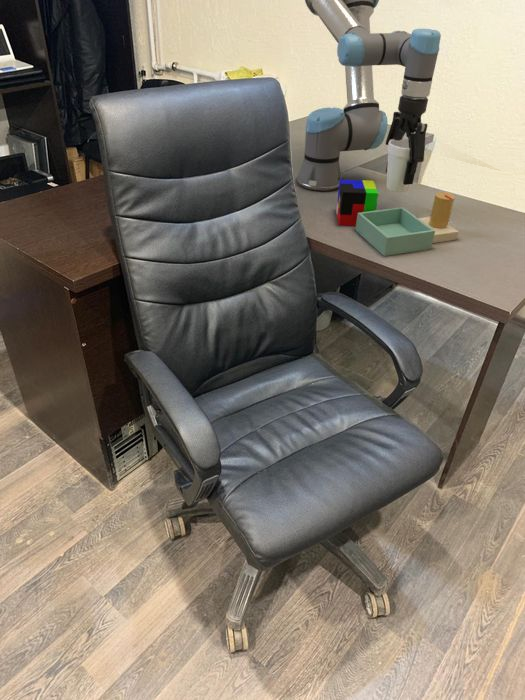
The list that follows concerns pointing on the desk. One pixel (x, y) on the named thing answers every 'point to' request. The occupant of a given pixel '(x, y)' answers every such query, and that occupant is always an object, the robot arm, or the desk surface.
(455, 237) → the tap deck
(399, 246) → the basin
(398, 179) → the foam cup
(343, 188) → the puzzle toy
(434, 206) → the tap handle
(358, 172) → the desk surface
